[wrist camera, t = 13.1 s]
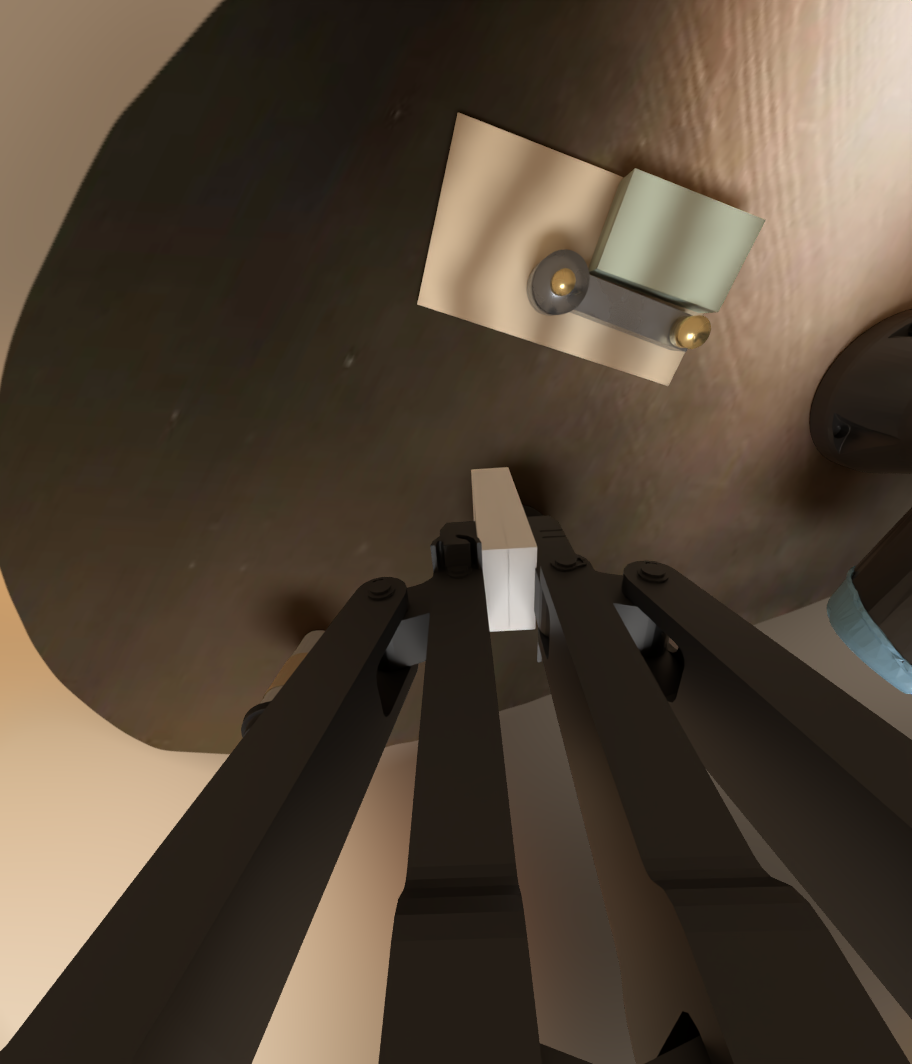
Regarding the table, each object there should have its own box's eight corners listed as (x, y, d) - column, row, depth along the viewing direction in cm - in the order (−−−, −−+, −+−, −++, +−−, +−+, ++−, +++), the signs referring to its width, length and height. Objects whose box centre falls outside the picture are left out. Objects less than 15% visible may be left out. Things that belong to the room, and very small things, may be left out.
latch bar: (519, 305, 35) (527, 303, 31) (538, 248, 34) (550, 237, 29) (667, 360, 37) (693, 365, 33) (693, 309, 36) (724, 307, 31)
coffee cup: (367, 662, 57) (340, 766, 43) (307, 676, 58) (262, 781, 44) (340, 612, 52) (300, 709, 39) (275, 627, 54) (216, 727, 40)
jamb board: (742, 228, 34) (773, 217, 30) (664, 384, 39) (683, 390, 36) (457, 117, 31) (457, 91, 27) (418, 304, 36) (414, 302, 33)
